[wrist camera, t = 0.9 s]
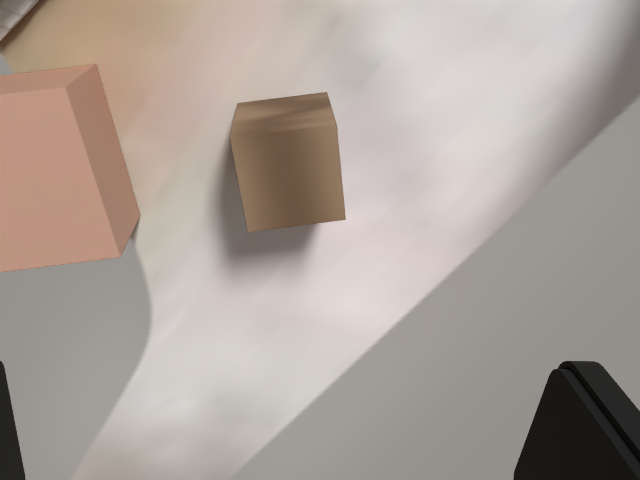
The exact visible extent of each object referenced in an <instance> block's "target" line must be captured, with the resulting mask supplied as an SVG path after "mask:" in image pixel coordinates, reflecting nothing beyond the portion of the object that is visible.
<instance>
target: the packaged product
mask: <svg viewBox="0 0 640 480" xmlns="http://www.w3.org/2000/svg"><path fill="white" fill-rule="evenodd" d="M38 1H39V0H0V41H1V40H2V39H3V38H4V37H5V36H6V35H7V34H8V33H9V32H10V31H11V30H12V29H13V28H14V27H15V26H16V25H17V24H18V22H19V21H20V20H21V19H22V18H23V17H24V16H25V15H26V14H27V13H28V12H29V11H30V10H31V9H32V8H33V7H34V6H35V4H36V3H37V2H38Z"/></svg>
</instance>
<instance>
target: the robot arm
mask: <svg viewBox="0 0 640 480" xmlns="http://www.w3.org/2000/svg"><path fill="white" fill-rule="evenodd" d="M0 480H25V473H24V468H23V463H22V457H21V452H20V447H19V442H18V437H17V431H16V426H15V421H14V416H13V410H12V405H11V400H10V395H9V389H8V384H7V379H6V374H5V369H4V365H3V363H2V362H1V361H0ZM514 480H640V411H639V410H638V409H637V408H636V406H635V405H634V404H633V403H632V401H631V400H630V399H629V398H628V397H627V395H626V394H625V393H624V392H623V390H622V389H621V388H620V387H619V386H618V385H617V383H616V382H615V381H614V380H613V378H612V377H611V376H610V375H609V373H608V372H607V371H606V370H605V369H604V367H603V366H601V365H600V364H599V363H597V362H593V361H591V362H589V361H565V362H563V363H562V364H560V366H559V367H558V369H555V370H553V371H552V372H551V374H550V376H549V378H548V381H547V384H546V386H545V389H544V392H543V395H542V397H541V400H540V403H539V405H538V408H537V411H536V414H535V416H534V419H533V422H532V425H531V427H530V430H529V433H528V436H527V438H526V441H525V444H524V447H523V449H522V452H521V455H520V457H519V460H518V463H517V466H516V468H515V471H514Z"/></svg>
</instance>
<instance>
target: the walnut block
mask: <svg viewBox="0 0 640 480" xmlns="http://www.w3.org/2000/svg"><path fill="white" fill-rule="evenodd" d="M230 142H231V147H232V152H233V157H234V162H235V168H236V173H237V178H238V183H239V188H240V194H241V199H242V204H243V209H244V214H245V219H246V225H247V230H248V232H252V231H260V230H268V229H276V228H284V227H292V226H300V225H307V224H315V223H323V222H331V221H339V220H346V217H345V207H344V196H343V186H342V175H341V165H340V155H339V144H338V134H337V124H336V121H335V117H334V114H333V111H332V108H331V104H330V101H329V98H328V94H327V92H324V93H316V94H308V95H300V96H292V97H284V98H276V99H268V100H260V101H252V102H244V103H238V104H237V108H236V113H235V117H234V121H233V126H232V130H231V134H230Z"/></svg>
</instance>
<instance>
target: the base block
mask: <svg viewBox="0 0 640 480" xmlns="http://www.w3.org/2000/svg"><path fill="white" fill-rule="evenodd" d="M139 217H140V212H139V209H138V205H137V202H136V199H135V195H134V192H133V188H132V185H131V182H130V178H129V175H128V171H127V168H126V164H125V161H124V158H123V154H122V151H121V147H120V144H119V141H118V137H117V134H116V130H115V127H114V123H113V120H112V117H111V113H110V110H109V106H108V103H107V100H106V96H105V93H104V89H103V86H102V82H101V79H100V76H99V72H98V69H97V65H96V64H92V65H84V66H76V67H68V68H60V69H52V70H44V71H36V72H28V73H20V74H12V75H4V76H0V272H6V271H15V270H23V269H30V268H38V267H46V266H54V265H62V264H69V263H78V262H86V261H94V260H102V259H108V258H117V257H121V255H122V253H123V251H124V248H125V246H126V244H127V242H128V240H129V238H130V236H131V234H132V232H133V230H134V228H135V226H136V224H137V221H138V219H139Z"/></svg>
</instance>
